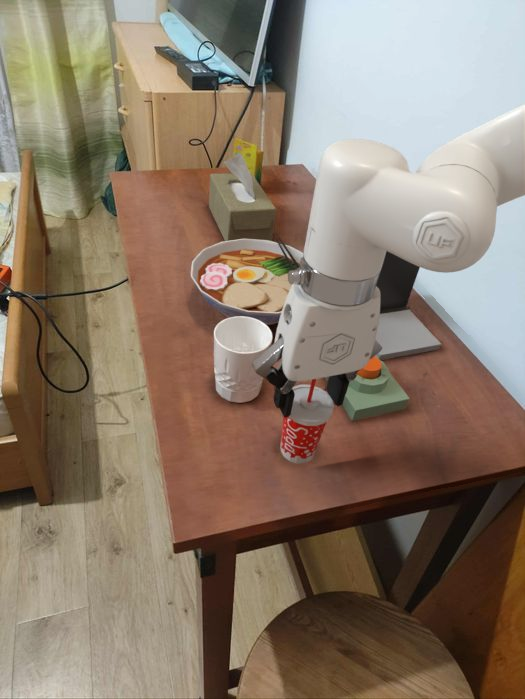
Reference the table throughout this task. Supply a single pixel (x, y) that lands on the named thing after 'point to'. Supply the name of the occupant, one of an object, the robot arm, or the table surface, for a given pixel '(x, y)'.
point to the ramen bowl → (246, 277)
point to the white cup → (239, 357)
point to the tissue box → (240, 203)
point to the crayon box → (250, 157)
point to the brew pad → (374, 395)
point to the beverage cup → (305, 422)
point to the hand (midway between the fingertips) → (308, 402)
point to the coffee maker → (400, 312)
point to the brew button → (371, 369)
